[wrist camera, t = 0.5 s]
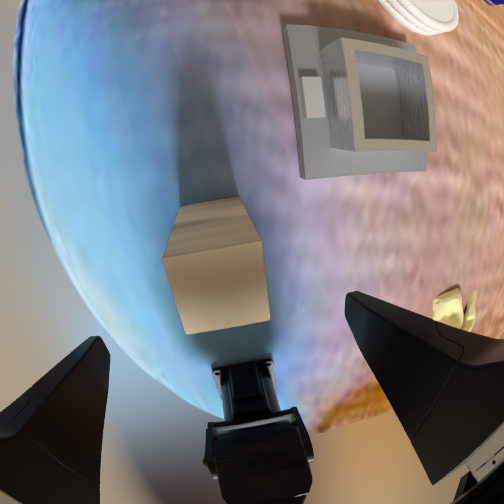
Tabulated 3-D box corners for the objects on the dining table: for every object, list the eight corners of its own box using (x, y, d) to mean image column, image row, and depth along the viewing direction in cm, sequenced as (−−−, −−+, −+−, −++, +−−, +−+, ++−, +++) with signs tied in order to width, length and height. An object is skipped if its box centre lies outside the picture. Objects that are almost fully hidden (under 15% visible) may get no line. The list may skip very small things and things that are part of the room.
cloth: (427, 380, 39) (443, 402, 34) (367, 379, 34) (385, 410, 28) (496, 282, 32) (518, 299, 27) (458, 246, 27) (491, 268, 21)
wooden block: (246, 249, 22) (270, 319, 14) (192, 259, 21) (186, 334, 13) (238, 196, 20) (261, 241, 12) (180, 206, 20) (162, 258, 12)
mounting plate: (417, 168, 21) (430, 172, 20) (300, 177, 20) (308, 181, 18) (406, 47, 16) (418, 44, 14) (281, 29, 15) (288, 21, 13)
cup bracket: (409, 146, 19) (436, 152, 16) (331, 147, 18) (354, 151, 15) (400, 62, 16) (427, 56, 13) (319, 50, 15) (341, 37, 12)
